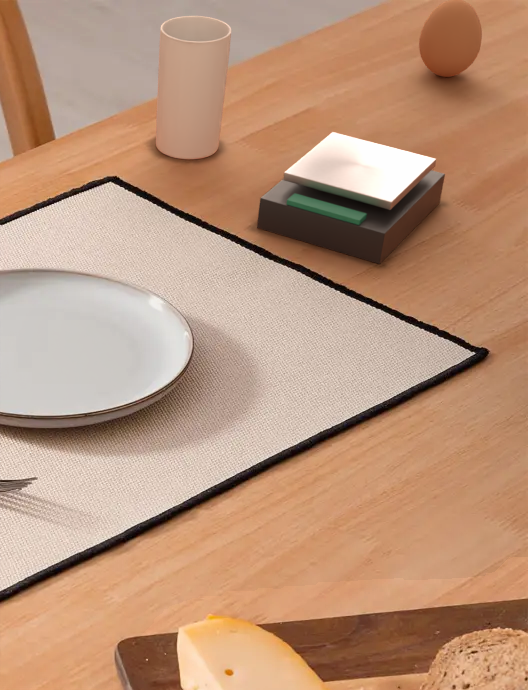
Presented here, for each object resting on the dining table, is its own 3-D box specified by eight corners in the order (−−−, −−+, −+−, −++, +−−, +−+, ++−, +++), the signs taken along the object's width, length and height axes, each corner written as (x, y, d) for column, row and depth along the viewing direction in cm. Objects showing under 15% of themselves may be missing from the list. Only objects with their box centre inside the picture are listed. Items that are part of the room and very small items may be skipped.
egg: (414, 61, 172) (426, -13, 167) (474, 66, 171) (488, -9, 166) (413, 83, 167) (426, 8, 162) (474, 89, 166) (489, 13, 161)
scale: (439, 203, 145) (446, 169, 143) (379, 264, 136) (385, 228, 134) (322, 171, 150) (326, 137, 148) (256, 227, 141) (260, 193, 139)
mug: (213, 165, 151) (224, 45, 144) (146, 156, 153) (153, 37, 145) (232, 123, 159) (243, 8, 152) (167, 115, 160) (175, 0, 153)
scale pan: (435, 166, 143) (436, 158, 142) (390, 210, 136) (391, 202, 135) (331, 139, 147) (332, 131, 147) (282, 180, 140) (283, 172, 140)
